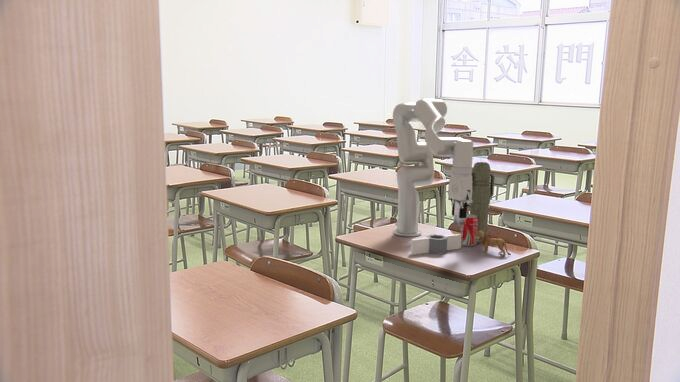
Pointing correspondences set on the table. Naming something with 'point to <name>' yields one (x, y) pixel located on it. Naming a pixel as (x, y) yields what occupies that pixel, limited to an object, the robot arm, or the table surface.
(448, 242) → the hinge
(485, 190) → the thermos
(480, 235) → the lion figurine
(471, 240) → the soda can
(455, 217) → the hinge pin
